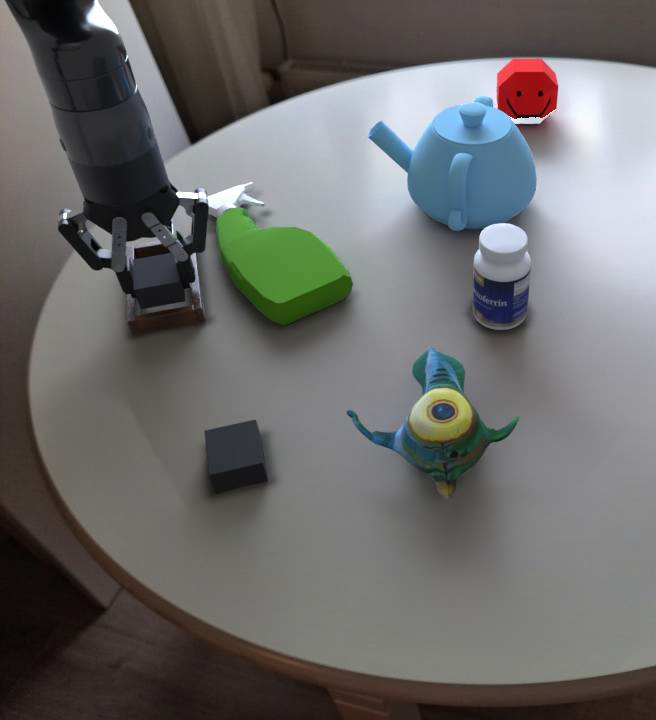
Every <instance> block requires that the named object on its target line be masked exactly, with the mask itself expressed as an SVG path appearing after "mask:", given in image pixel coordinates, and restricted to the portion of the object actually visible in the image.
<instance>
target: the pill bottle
mask: <svg viewBox="0 0 656 720" xmlns="http://www.w3.org/2000/svg"><path fill="white" fill-rule="evenodd" d="M528 241H529V240H528V235H527V233H526V232H525V230H524V229H522V228H521V227H519V226H517V225H515V224H511V223H506V222H504V223H499V224H493V225H490V226H488V227H486V228H482V231H481V232H480V234H479V236H478V250H476V253H475V254H474V258H473V265H472V266H473V267H472V269H473V272H472V273H473V275H472V276H473V277H472V278H473V279H472V314H473V317H474V319H475V320H476V322H478V323H479V324H480V325H482V326H483V327H485V328H486V329H491V330H495V331H508V330H512V329H514V328H517V327H518V326H520V325H521V324H523V322H524V321H525V320H526V317H527V314H528V307H529V296H530V284H531V273H532V272H531V271H532V259H531V256H530V254H529V253H528V243H529V242H528Z"/></svg>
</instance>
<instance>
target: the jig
mask: <svg viewBox="0 0 656 720" xmlns="http://www.w3.org/2000/svg"><path fill="white" fill-rule="evenodd" d="M187 236H188V235H183V237H187ZM168 253H171V252H170V250H169V249H168V248H167V247H166V248H165V247H164V246H163V244H162V243H161V242H160V241H159V240H153V241H147V242H142V243H135V244H129V245H126V258H130V261H131V264H132V266H133V259H139V258H145V257H151V256H157V255H162V254H168ZM191 259H192V263H193V266H194V269H195V277H196V279H195V282H193V283H191V288H190V289H191V298H192V304H190V305H184V306H179V307H174V308H169V309H163V310H162V309H161V310H156V311H152V312H151V311H150V312H146V313H141V308H140V306H139V303H138V301H137V298H134V299H133V298H132V296H131V294H127V295H126V323H127V326H128V328H129V330H130V332H131V335H132V336H133V335H139V334H144V333H149V332H155V331H160V330H165V329H169V328H170V329H171V328H174V327H175V328H176V327H180V326H185V325H191V324H196V323H203V322H205V321H207V320H206V312H205V311H206V310H205V303H204V295H203V285H202V277H201V269H200V259H199V253H194V254H192V255H191Z"/></svg>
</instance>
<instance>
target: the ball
mask: <svg viewBox="0 0 656 720" xmlns="http://www.w3.org/2000/svg"><path fill="white" fill-rule="evenodd" d="M557 78H558V77H557V74H556V72H555V71H554V70H553V68H551V66H549V65H548V64H547V63H546V62H545V61H544V60H543V58H512V59H511V60H510V61H509V62H508V63H507V64H506V65H504V67H503V68H501V70H499V71H498V72H497V74H496V105H498V107H497V109H498V110H501V111H502V112H504V113H505V114H507V115H508V116H510V117H512V118H514V119H517V118H521V117H522V118H529V117H535V118H536V117H540V118H543V117H545V116H546V115H548V114H549V113H550V112H552V111H553V110H555V109H556V110H557V108H558V98H559V97H558V95H559V94H558V93H559V81H558V79H557Z"/></svg>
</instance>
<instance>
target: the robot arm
mask: <svg viewBox="0 0 656 720" xmlns="http://www.w3.org/2000/svg"><path fill="white" fill-rule="evenodd" d="M4 2H5V4H6V6H7V8H8V10H9V12H10V14H11V15H12V17H13V18H14V20H15V22H16V24H17V25H18V28H19V29H20V31H21V33H22V35H23V38H24V39H25V41H26V43H27V46H28V49H29V52H30V54H31V58H32V62H33V65H34V67H35V70H36V72H37V75H38V77H39V80H40V84H41V85H42V87H43V90H44V93H45V95H46V98H47V100H48V103H49V107H50V110H51V114H52V119H53V123H54V126H55V129H56V132H57V134H58V137H59V139H58V140H59V143H60V145H61V148H62V150H63V151H64V152H65V155H66V157H67V160H68V162H69V165H70V167H71V170H72V172H73V175H74V177H75V180H76V182H77V185H78V187H79V190H80V192H81V195H82V197H83V202H82V206H80V207H79V208H76V209H73V210H71V209H69V208H64V209H61V210H60V211H59V212H58V218H57V219H58V220H57V231H58V232H59V234H60V235H61V236H62V237H63V238H64V239H65V241H66V242H67V243H68V244H69V245H70V246H71V247H72V248H73V250H75V252H76V253H77V254H78V255H79V256H80V257H81V259H82V260H83V261H84V263H86V264H87V265H88V266H89V268H90V269H91V270H93V271H97V272H98V271H102V270H103V269H109V270H112V271H113V272H114V273H115V275H116V278H117V281H118V283H119V286H120V288H121V290H122V292H123V293H124V295H126V296H127V294H131V296H132V298H133V299H134V298H136V295H135V293H134V290H133V266H132V264H131V261H130V258H126V246H127V243H129V242H135V241H137V240H140V239H142V238H143V239H144V238H145V239H153V238H157V240H158V241H160V242H161V243H162V244H163V246H164V247H165V248H166V247H167V248H168V249H169V250H170V252H171V253H172V254H173V256H174V257H175V263H176V266H177V270H178V273H179V275H180V278H181V281H182V284H183V287H184V289H185V290H188V289H191V283H193V282H195V279H196V277H195V269H194V266H193V263H192V259H191V255H192V254H194V253H198V254H202V253H204V252H205V251H206V247H207V246H206V245H207V233H208V222H209V214H208V212H209V205H208V192H207V190H206V189H205V188H202V187H199V188H196V189H195V190H194V192H185V191H184V192H183V191H179V190H178V189H177V188H176V187H175V186H174V185H173V184H172V183H171V181H170V178H169V176H168V173H167V170H166V166H165V163H164V159H163V157H162V153H161V150H160V147H159V146H160V145H159V143H158V139H157V137H156V133H155V131H154V126H153V123H152V120H151V117H150V113H149V111H148V107H147V105H146V102H145V101H144V98H143V97H142V95H141V92H140V90H139V87H138V85H137V83H136V78H135V76H134V72H133V68H132V65H131V63H130V58H129V56H128V51H127V49H126V46H125V44H124V40H123V37H122V35H121V33H120V31H119V30H118V28H117V26H116V25H115V23H114V22H113V21H112V19H111V18H110V17H109V15H107V13H106V12H105V11H104V9H103V8H102V6H101V5H100V3H99V1H98V0H4ZM179 206H181V207H182V208H184V211H185V214H186V215H187V216H189V217H190V218H191V227H190V228H191V229H190V234H188V235H186V236H187V237H183V236H184V235H183V234H182V232H181V231H180V230H179V228H178V227H177V225H176V223H175V221H174V219H173V217H174V216H175V214H176V212H177V210H178V208H179ZM88 221H89V222H90V223H92V224H94V225H96V226H97V227H99V228H100V229H102V230H103V231H105V232H107V234H110V235H111V249H107V248H106V249H104V248H103V246H102V245H100V243H99V242H98V241H97V240H96V238H95V237H94V235H92V233H91V232H90V231H89V230H88Z"/></svg>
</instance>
